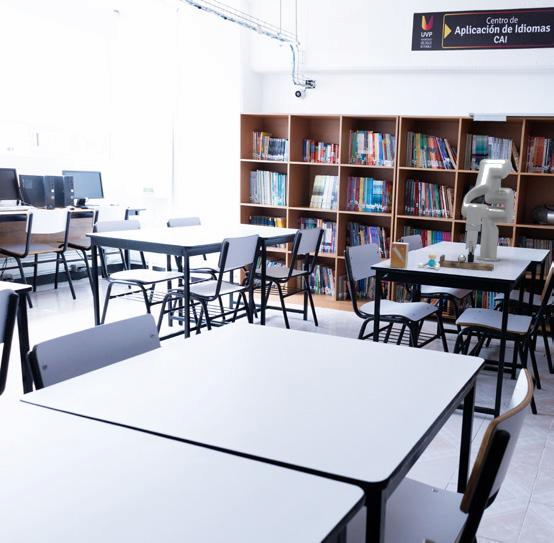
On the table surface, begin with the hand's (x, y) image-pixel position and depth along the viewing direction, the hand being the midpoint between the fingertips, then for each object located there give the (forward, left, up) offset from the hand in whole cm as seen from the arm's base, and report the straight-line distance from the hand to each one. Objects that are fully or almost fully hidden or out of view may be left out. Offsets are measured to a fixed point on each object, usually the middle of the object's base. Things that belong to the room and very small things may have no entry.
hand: (470, 262), depth 354 cm
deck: (0, -2, -3) cm, 4 cm away
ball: (0, -5, +2) cm, 5 cm away
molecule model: (+13, -17, -4) cm, 22 cm away
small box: (+20, -34, -4) cm, 40 cm away
